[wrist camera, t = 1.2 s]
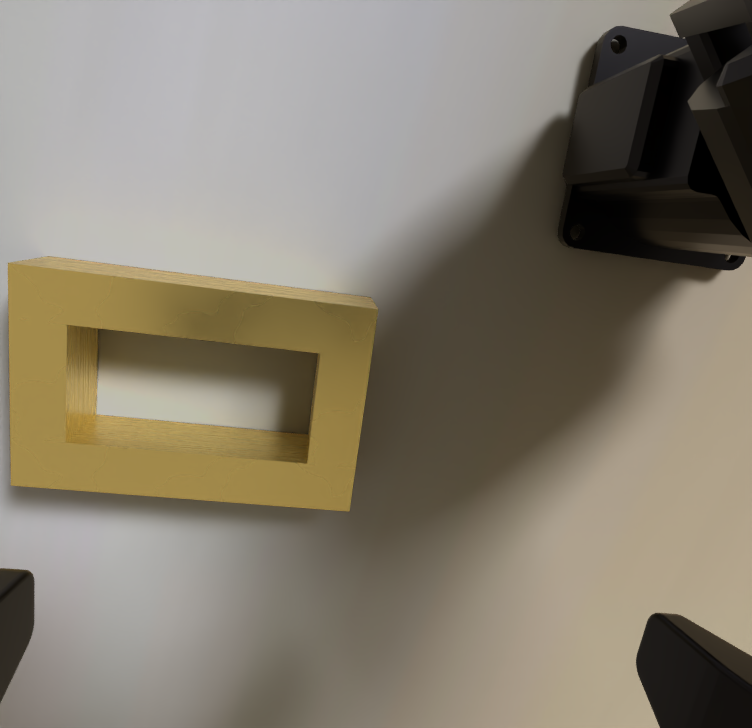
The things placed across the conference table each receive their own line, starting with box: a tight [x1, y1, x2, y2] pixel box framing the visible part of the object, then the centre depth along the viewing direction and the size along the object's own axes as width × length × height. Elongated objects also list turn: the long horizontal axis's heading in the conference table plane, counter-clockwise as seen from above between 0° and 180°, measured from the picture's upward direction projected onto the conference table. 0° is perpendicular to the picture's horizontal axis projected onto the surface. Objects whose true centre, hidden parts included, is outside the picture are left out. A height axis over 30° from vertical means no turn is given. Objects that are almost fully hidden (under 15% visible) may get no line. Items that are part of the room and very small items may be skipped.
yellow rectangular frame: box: [8, 256, 378, 511], centre depth 18 cm, size 10×6×2 cm, turn 82°
